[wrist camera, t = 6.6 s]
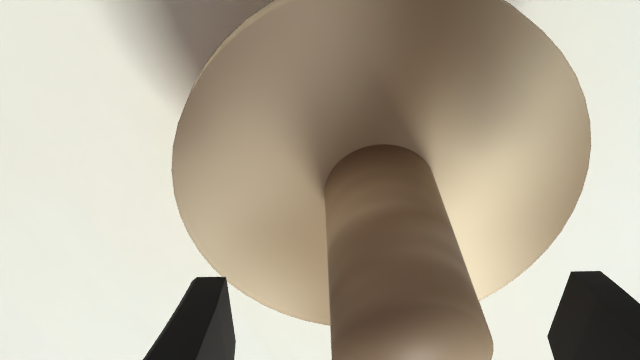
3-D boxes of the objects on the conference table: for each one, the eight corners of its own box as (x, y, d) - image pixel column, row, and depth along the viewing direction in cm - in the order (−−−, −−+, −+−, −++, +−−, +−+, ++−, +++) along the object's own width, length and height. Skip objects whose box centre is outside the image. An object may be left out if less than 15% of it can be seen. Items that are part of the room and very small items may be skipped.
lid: (636, -31, 11) (890, 78, 6) (524, 306, 17) (611, 497, 12) (144, -32, 11) (14, 80, 6) (203, 309, 17) (161, 504, 12)
